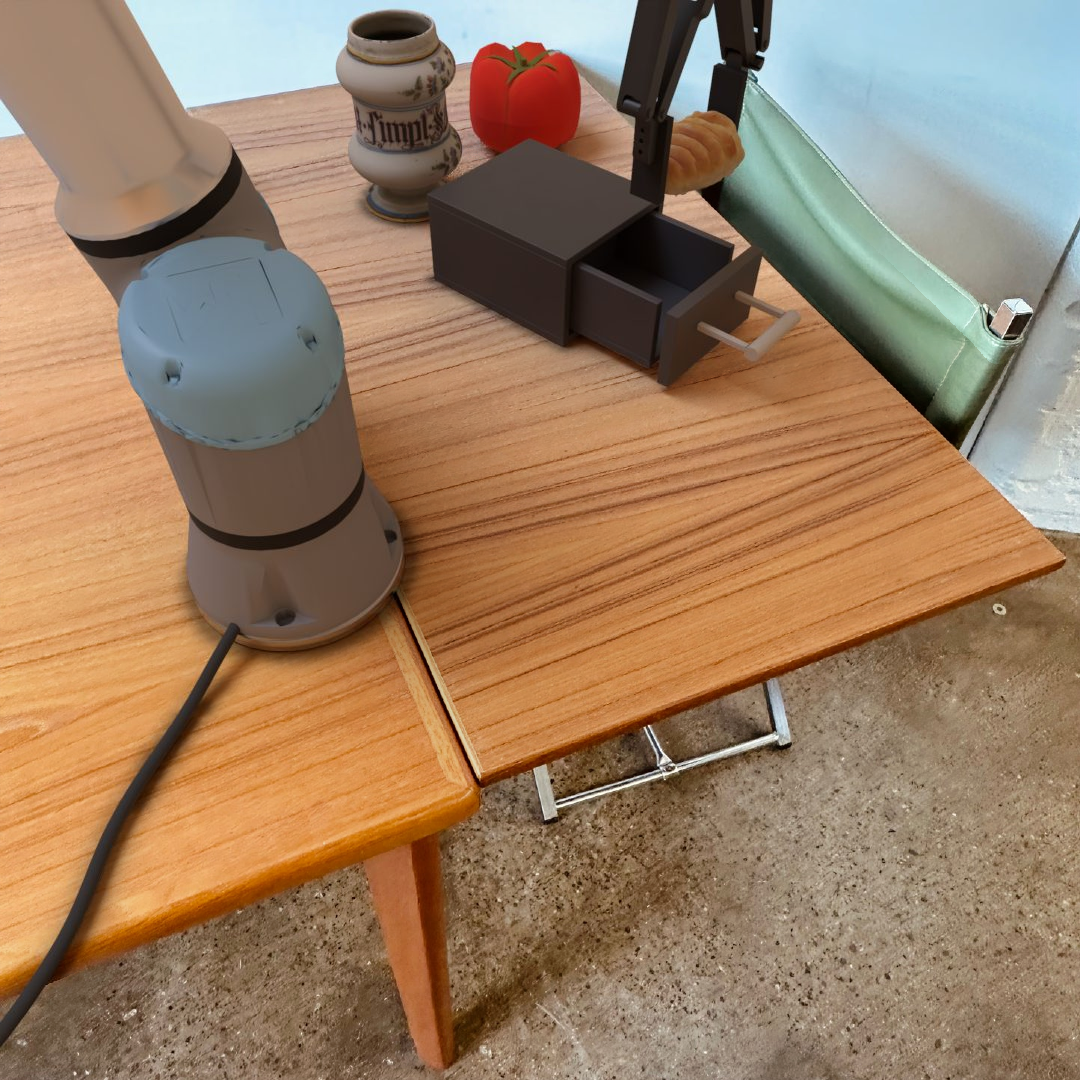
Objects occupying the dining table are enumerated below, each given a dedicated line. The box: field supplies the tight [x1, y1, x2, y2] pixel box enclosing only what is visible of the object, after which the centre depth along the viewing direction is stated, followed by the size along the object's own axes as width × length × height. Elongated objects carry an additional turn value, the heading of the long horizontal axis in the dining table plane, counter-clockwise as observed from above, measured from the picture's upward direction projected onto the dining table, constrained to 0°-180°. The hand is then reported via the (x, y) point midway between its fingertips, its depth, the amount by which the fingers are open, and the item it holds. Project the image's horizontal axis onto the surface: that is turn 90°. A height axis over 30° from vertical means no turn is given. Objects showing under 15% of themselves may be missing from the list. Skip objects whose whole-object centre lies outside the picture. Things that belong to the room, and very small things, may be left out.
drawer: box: [569, 210, 802, 389], centre depth 82 cm, size 22×13×7 cm, turn 50°
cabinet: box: [427, 138, 666, 348], centre depth 88 cm, size 17×15×9 cm
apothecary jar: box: [335, 8, 463, 224], centre depth 94 cm, size 12×12×18 cm
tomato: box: [468, 41, 582, 153], centre depth 105 cm, size 14×13×10 cm
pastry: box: [665, 110, 746, 197], centre depth 72 cm, size 9×7×4 cm
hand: (683, 173), depth 73 cm, fingers closed on pastry, 9 cm apart
